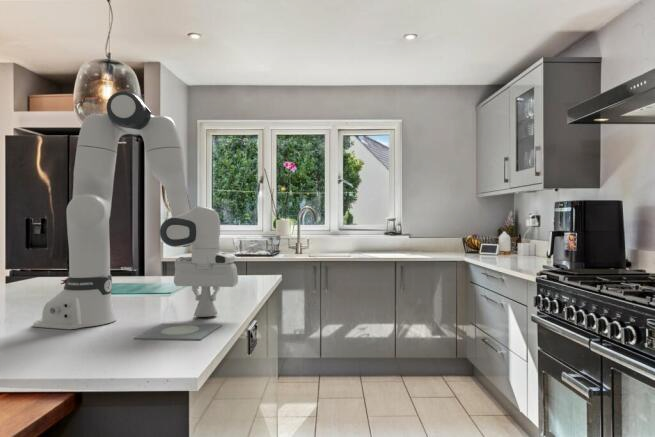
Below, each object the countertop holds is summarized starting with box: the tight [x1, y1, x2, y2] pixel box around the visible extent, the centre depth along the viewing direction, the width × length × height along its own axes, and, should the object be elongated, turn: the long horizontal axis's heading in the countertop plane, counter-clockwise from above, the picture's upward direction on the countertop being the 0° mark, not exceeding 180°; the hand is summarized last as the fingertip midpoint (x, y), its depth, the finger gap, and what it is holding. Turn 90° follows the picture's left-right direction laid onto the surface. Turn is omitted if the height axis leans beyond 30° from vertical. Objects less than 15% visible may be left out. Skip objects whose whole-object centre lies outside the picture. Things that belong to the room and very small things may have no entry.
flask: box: [193, 286, 218, 318], centre depth 143 cm, size 7×7×10 cm
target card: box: [133, 323, 223, 341], centre depth 124 cm, size 18×16×1 cm
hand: (205, 300), depth 143 cm, fingers open, 3 cm apart
